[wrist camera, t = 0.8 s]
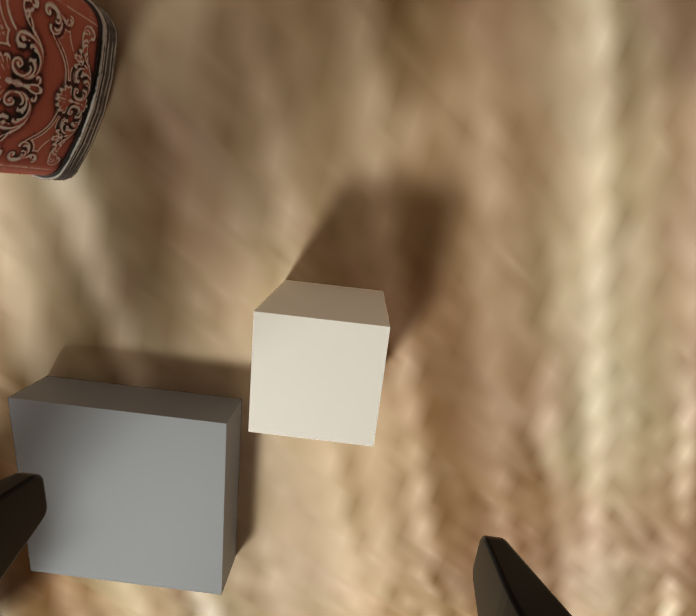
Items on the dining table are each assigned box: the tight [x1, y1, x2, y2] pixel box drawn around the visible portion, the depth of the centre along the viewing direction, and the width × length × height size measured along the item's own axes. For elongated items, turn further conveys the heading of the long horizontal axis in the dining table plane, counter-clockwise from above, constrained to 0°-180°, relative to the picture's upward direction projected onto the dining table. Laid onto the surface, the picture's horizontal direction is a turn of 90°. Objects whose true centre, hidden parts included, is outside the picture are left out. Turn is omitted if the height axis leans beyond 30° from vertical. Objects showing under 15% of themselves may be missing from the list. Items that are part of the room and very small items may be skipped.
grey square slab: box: [8, 376, 242, 595], centre depth 23 cm, size 11×11×3 cm
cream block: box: [248, 280, 390, 446], centre depth 18 cm, size 5×5×6 cm
